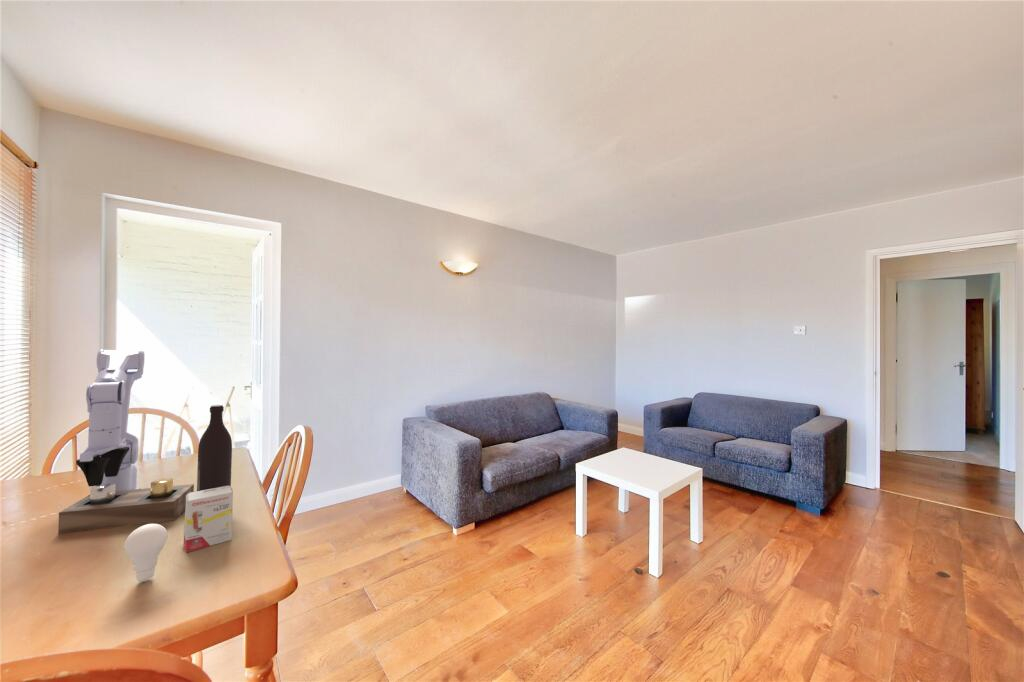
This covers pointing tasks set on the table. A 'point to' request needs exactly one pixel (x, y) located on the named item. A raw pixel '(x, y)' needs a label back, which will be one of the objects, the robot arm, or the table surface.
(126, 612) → the table surface
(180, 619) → the table surface
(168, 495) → the brass peg
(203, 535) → the ink box
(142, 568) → the lightbulb
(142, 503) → the peg board
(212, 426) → the wine bottle
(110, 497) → the steel peg
